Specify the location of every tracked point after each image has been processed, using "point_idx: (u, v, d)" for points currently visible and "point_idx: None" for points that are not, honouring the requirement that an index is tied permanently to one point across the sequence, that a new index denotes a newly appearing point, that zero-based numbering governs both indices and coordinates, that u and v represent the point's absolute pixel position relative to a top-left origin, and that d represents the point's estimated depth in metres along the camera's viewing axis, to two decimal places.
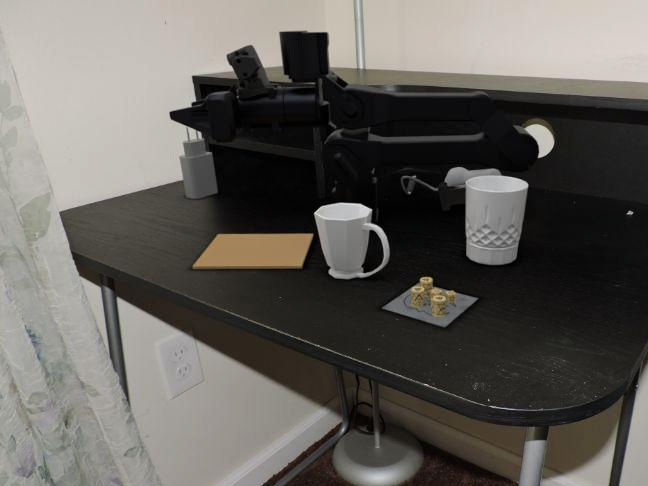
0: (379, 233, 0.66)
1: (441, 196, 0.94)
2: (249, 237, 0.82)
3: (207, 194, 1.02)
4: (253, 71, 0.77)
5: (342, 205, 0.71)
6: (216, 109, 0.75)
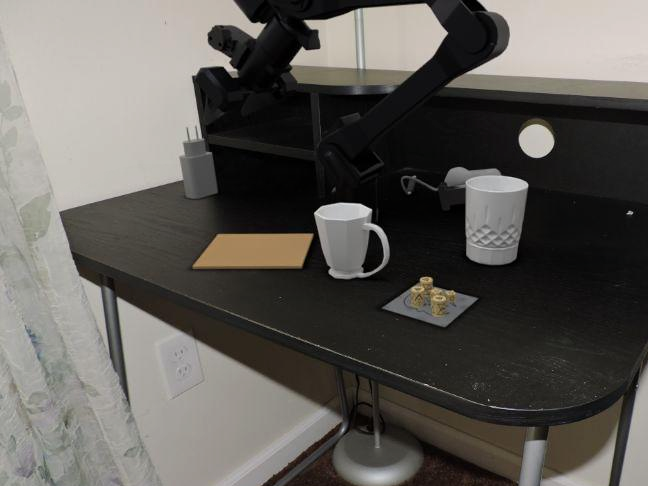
0: (379, 233, 0.66)
1: (441, 196, 0.94)
2: (249, 237, 0.82)
3: (207, 194, 1.02)
4: (222, 36, 0.83)
5: (342, 205, 0.71)
6: (202, 83, 0.81)
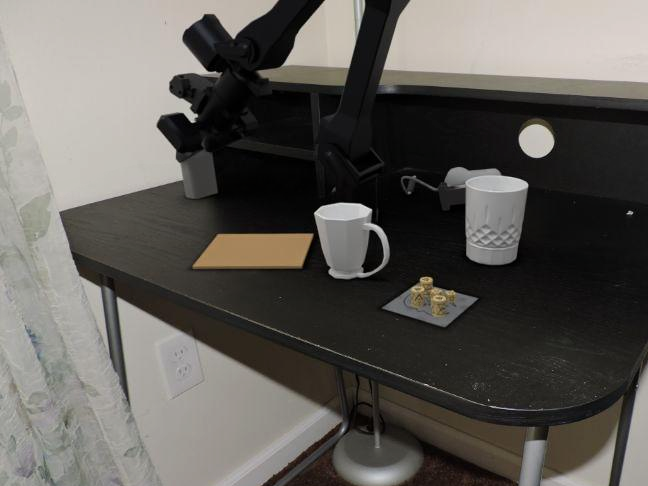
0: (379, 233, 0.66)
1: (441, 196, 0.94)
2: (249, 237, 0.82)
3: (207, 194, 1.02)
4: (181, 85, 0.90)
5: (342, 205, 0.71)
6: (163, 129, 0.89)
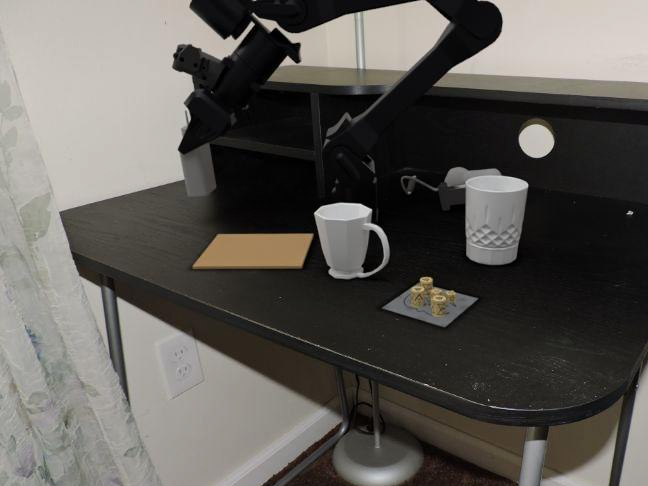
0: (379, 233, 0.66)
1: (441, 196, 0.94)
2: (249, 237, 0.82)
3: (212, 189, 0.87)
4: (198, 56, 0.75)
5: (342, 205, 0.71)
6: (197, 109, 0.73)
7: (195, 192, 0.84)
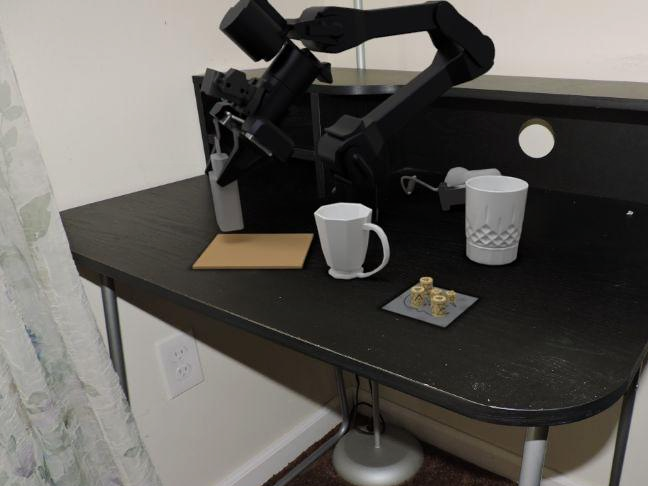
0: (379, 233, 0.66)
1: (441, 196, 0.94)
2: (249, 237, 0.82)
3: None
4: (245, 81, 0.70)
5: (342, 205, 0.71)
6: (264, 136, 0.69)
7: (232, 226, 0.78)
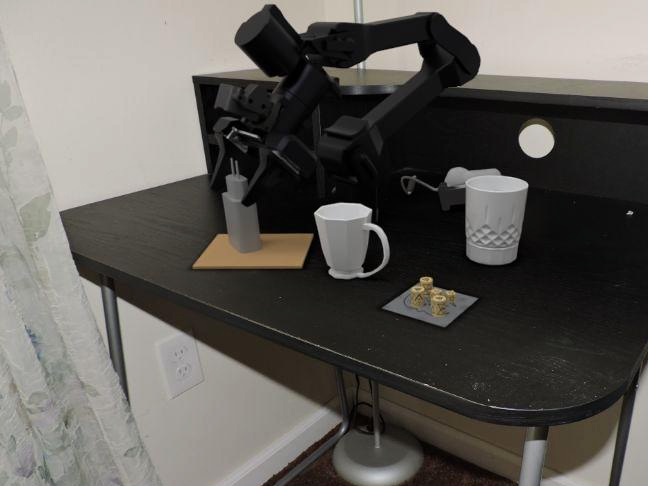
0: (379, 233, 0.66)
1: (441, 196, 0.94)
2: None
3: None
4: (266, 96, 0.69)
5: (342, 205, 0.71)
6: (292, 152, 0.69)
7: (251, 247, 0.77)
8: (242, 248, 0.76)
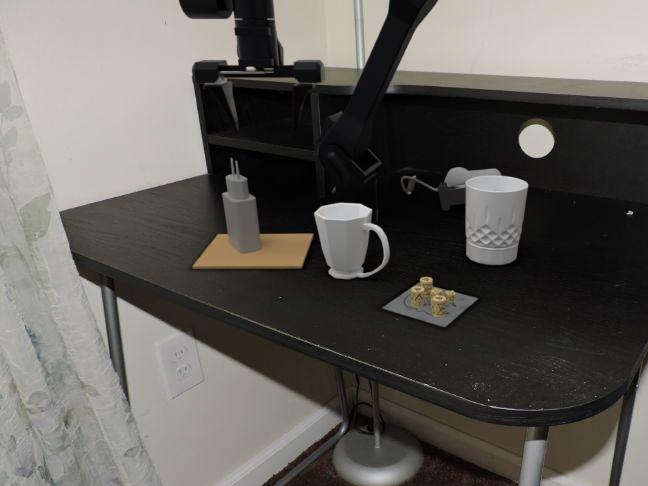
0: (379, 233, 0.66)
1: (440, 196, 0.94)
2: None
3: None
4: None
5: (342, 205, 0.71)
6: None
7: (251, 247, 0.77)
8: (242, 248, 0.76)
